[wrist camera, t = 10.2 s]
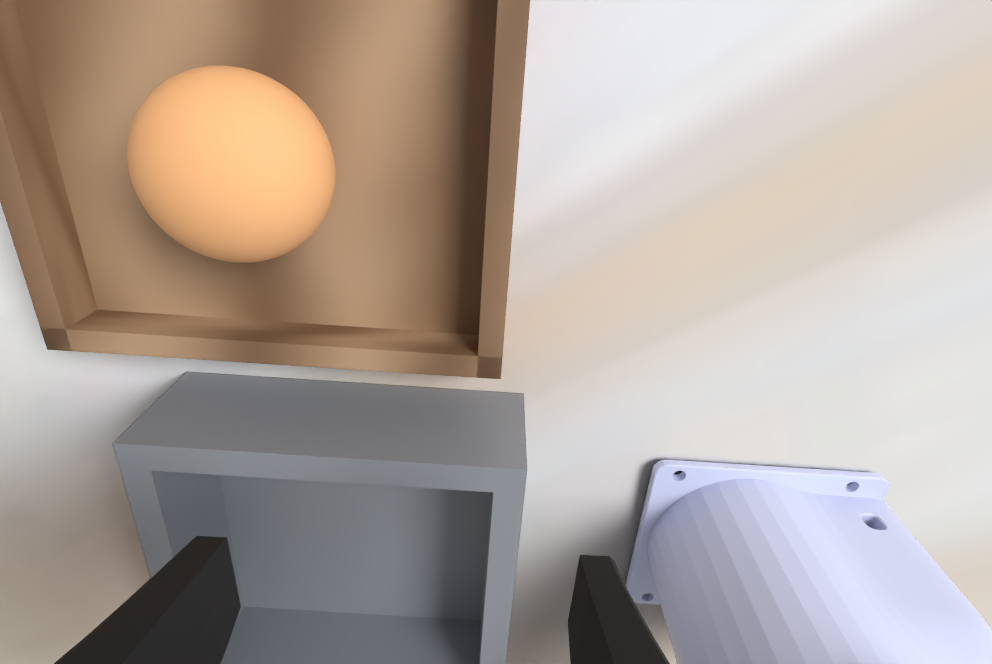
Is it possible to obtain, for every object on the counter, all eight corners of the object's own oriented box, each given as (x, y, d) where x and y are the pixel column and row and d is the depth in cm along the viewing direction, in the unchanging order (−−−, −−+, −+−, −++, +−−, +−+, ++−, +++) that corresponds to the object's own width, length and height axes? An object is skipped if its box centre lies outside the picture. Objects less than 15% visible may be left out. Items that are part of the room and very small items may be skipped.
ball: (350, 71, 16) (294, 74, 12) (357, 239, 19) (312, 295, 14) (175, 59, 16) (51, 57, 12) (202, 229, 18) (107, 283, 14)
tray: (533, -80, 15) (538, -102, 13) (501, 346, 21) (500, 378, 19) (-23, -121, 15) (-111, -150, 13) (95, 319, 21) (47, 349, 19)
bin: (523, 393, 22) (527, 469, 18) (500, 621, 27) (499, 718, 23) (186, 371, 22) (112, 443, 18) (233, 605, 27) (185, 699, 23)
